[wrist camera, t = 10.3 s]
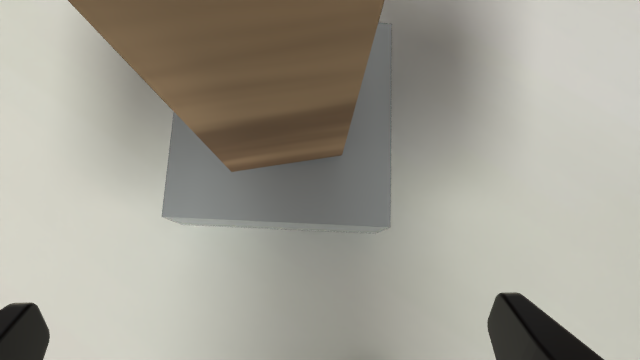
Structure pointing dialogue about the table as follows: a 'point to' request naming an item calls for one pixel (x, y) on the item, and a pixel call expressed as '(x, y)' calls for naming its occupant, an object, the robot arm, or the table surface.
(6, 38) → the table surface
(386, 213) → the grey base block
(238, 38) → the walnut pillar
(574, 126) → the table surface
